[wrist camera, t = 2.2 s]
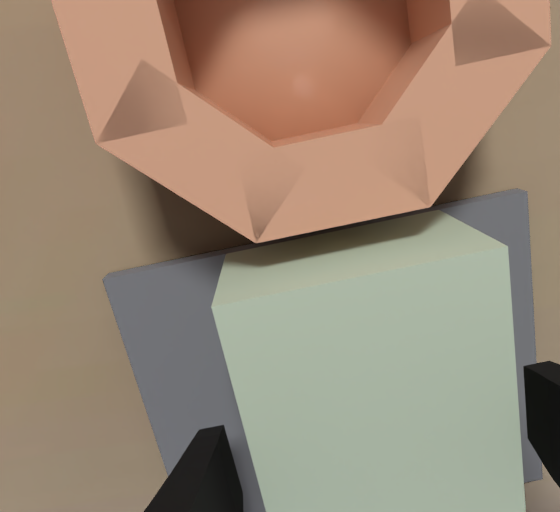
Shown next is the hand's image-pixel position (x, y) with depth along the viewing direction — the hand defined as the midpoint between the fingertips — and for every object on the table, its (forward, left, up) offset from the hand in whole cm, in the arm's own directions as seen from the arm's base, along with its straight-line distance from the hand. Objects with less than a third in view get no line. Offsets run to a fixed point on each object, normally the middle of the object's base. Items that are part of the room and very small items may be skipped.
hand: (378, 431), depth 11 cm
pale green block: (0, 0, -2) cm, 2 cm away
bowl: (+9, 0, -3) cm, 10 cm away
